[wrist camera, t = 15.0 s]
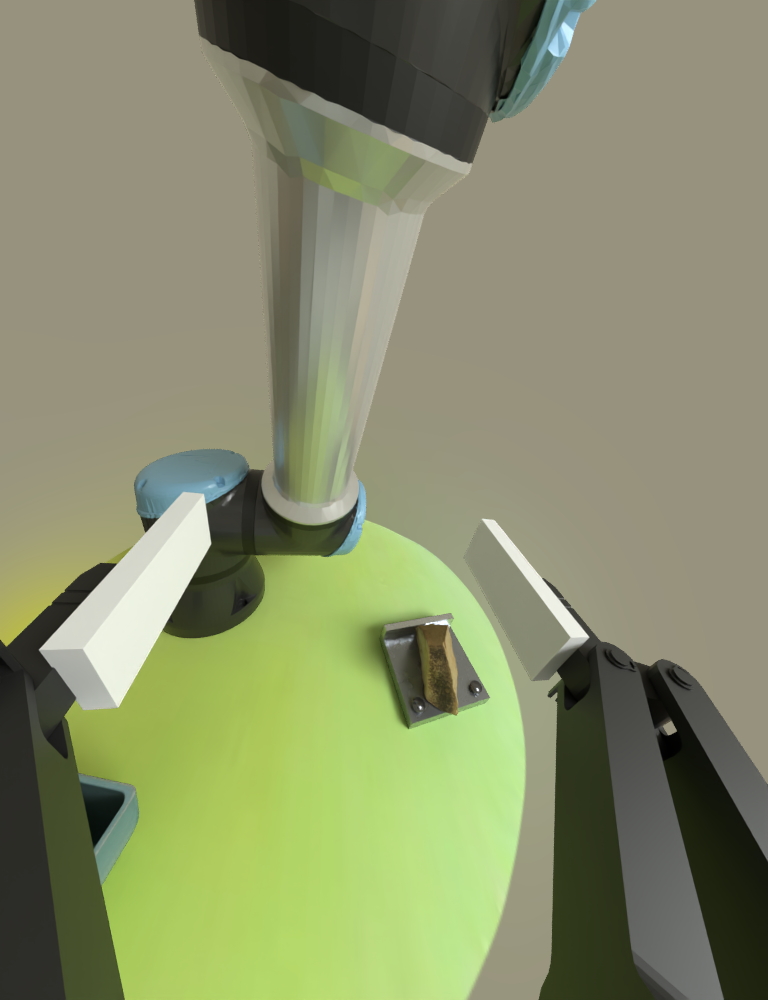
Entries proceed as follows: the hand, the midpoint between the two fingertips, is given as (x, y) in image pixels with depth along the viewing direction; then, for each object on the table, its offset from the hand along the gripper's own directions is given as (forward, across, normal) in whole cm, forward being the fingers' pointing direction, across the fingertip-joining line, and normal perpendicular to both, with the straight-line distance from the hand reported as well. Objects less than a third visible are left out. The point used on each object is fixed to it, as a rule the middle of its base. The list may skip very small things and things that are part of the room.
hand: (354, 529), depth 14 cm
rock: (+9, +16, -31) cm, 36 cm away
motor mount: (+9, +17, -32) cm, 37 cm away
